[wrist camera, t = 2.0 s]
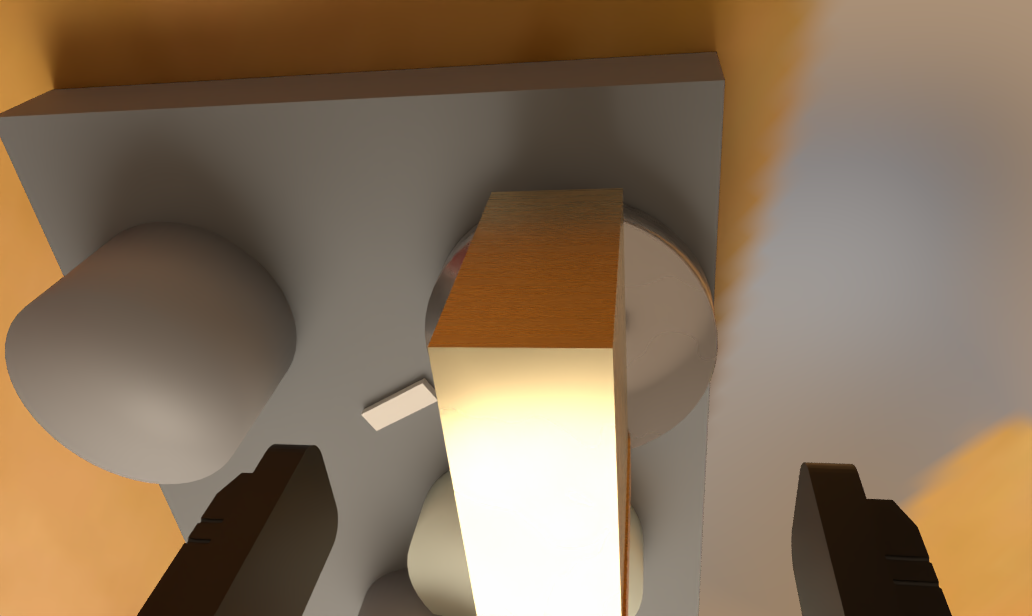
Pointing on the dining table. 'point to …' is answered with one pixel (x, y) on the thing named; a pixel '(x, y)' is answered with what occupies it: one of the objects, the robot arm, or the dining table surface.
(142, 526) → the dining table surface
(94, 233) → the base
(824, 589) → the robot arm
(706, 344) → the wing knob
